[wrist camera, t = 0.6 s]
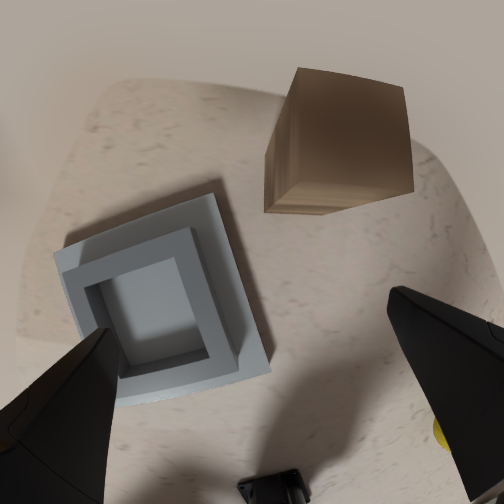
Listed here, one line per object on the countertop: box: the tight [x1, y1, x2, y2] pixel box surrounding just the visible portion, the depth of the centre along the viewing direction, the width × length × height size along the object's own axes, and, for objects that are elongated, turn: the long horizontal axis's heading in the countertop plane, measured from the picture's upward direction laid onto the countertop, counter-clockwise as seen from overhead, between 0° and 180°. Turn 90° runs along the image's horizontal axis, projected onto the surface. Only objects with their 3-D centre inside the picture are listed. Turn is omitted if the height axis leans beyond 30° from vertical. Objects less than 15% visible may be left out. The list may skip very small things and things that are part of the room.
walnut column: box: [264, 67, 414, 215], centre depth 16 cm, size 4×4×13 cm
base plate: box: [53, 193, 272, 408], centre depth 21 cm, size 14×14×4 cm
